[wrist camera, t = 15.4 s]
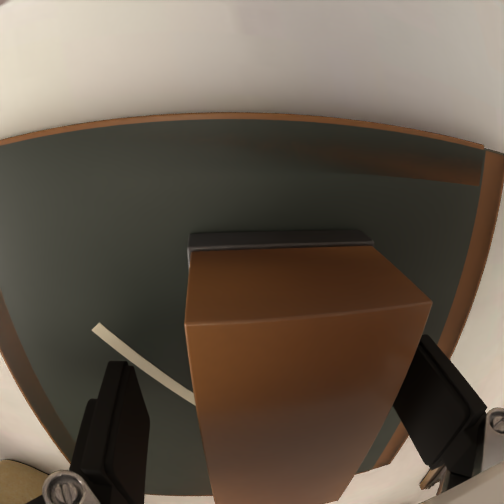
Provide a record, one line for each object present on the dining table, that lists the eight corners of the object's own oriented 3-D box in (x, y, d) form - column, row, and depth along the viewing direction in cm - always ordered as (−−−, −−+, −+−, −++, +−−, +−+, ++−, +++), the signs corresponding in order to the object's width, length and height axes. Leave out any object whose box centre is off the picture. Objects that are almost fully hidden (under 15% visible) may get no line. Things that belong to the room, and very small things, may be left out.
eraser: (210, 442, 13) (215, 518, 9) (188, 233, 9) (176, 318, 5) (316, 431, 13) (340, 500, 10) (360, 229, 9) (438, 296, 6)
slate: (-38, 151, 7) (-55, 156, 6) (491, 147, 10) (508, 152, 9) (92, 476, 15) (90, 488, 14) (384, 454, 18) (389, 465, 17)
